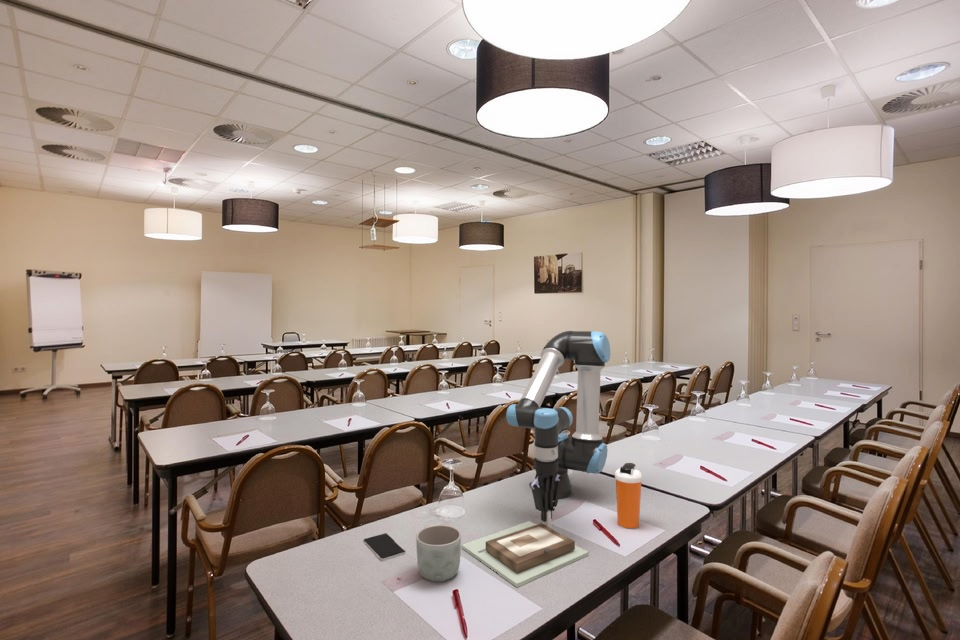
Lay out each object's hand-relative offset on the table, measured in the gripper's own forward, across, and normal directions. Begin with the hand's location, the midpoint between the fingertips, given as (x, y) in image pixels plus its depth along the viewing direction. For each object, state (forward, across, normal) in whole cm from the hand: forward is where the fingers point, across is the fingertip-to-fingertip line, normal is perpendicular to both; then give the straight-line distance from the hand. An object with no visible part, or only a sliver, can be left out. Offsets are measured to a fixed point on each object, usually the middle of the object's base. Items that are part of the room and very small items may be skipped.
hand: (546, 529), depth 155 cm
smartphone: (+2, -45, +25) cm, 52 cm away
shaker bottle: (+3, +29, -10) cm, 31 cm away
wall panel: (+2, -12, -3) cm, 13 cm away
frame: (0, -12, -6) cm, 13 cm away
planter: (+1, -39, +2) cm, 39 cm away
